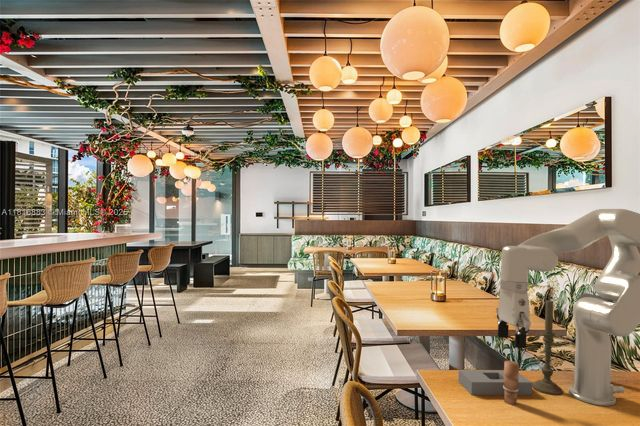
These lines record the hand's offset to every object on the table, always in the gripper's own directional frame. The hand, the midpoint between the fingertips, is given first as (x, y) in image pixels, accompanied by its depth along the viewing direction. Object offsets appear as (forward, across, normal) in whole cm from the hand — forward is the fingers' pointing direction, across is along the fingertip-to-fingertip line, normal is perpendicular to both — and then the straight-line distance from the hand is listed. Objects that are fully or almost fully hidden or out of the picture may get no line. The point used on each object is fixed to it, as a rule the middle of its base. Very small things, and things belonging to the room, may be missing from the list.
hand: (511, 342), depth 123 cm
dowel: (+18, 0, -1) cm, 18 cm away
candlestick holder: (+18, +10, -19) cm, 28 cm away
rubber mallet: (+18, +18, -42) cm, 49 cm away
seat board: (+18, +10, -1) cm, 21 cm away
